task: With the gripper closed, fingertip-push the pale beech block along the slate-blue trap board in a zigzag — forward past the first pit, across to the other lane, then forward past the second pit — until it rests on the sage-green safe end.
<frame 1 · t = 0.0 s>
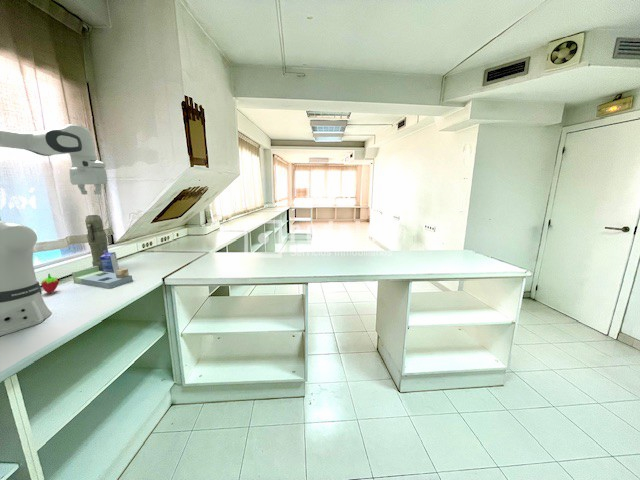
hand: (91, 194, 118), 48 cm above the table, fingers open, 8 cm apart
trap board: (103, 281, 140), on the table
strawberry: (52, 292, 126), on the table
beech block: (122, 276, 139), point 3 cm above the table, touching trap board
ink cartridge box: (111, 273, 154), on the table
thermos: (103, 271, 159), on the table
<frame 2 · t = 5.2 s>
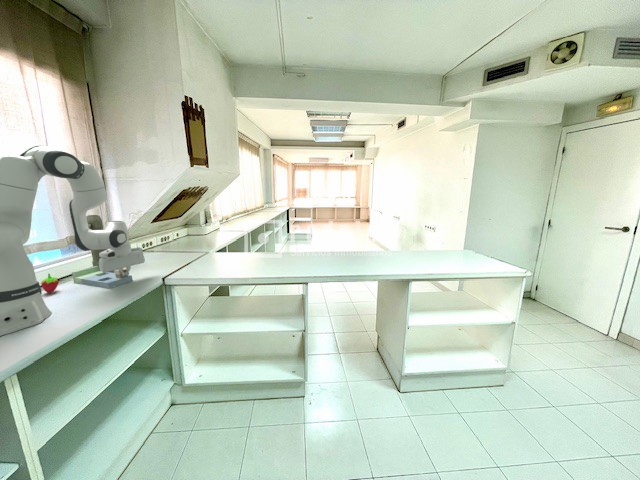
hand: (125, 275, 138), 4 cm above the table, fingers closed, pressing on beech block
beech block: (122, 276, 139), point 3 cm above the table, touching gripper, trap board
everything else where it was.
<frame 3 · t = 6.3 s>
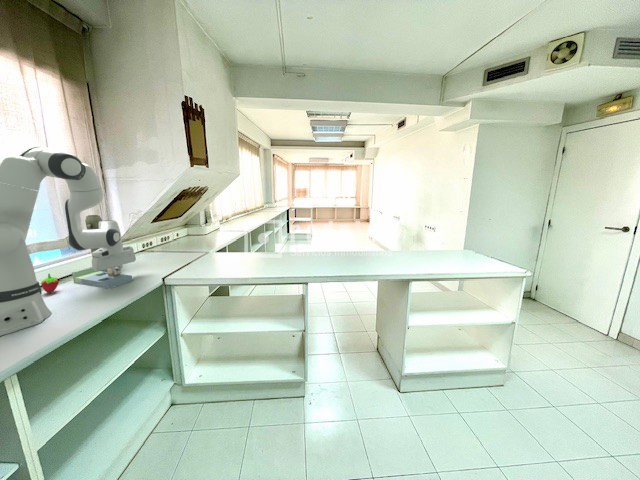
hand: (117, 273, 140), 4 cm above the table, fingers closed
beech block: (114, 275, 141), point 3 cm above the table
everything else where it was.
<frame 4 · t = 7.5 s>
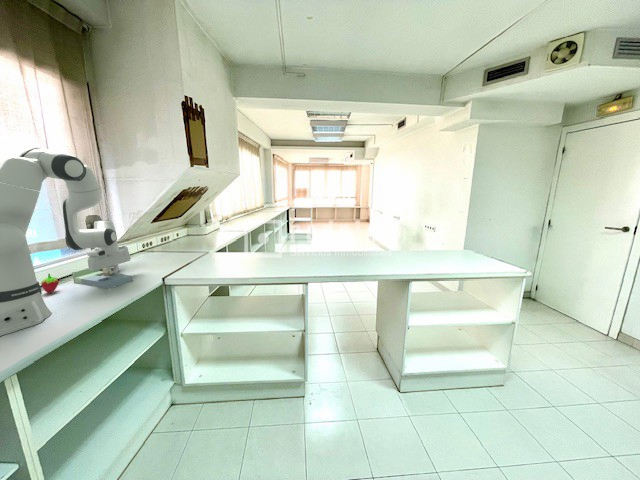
hand: (113, 273, 141), 4 cm above the table, fingers closed, pressing on beech block
beech block: (110, 274, 142), point 3 cm above the table, touching gripper, trap board
everything else where it was.
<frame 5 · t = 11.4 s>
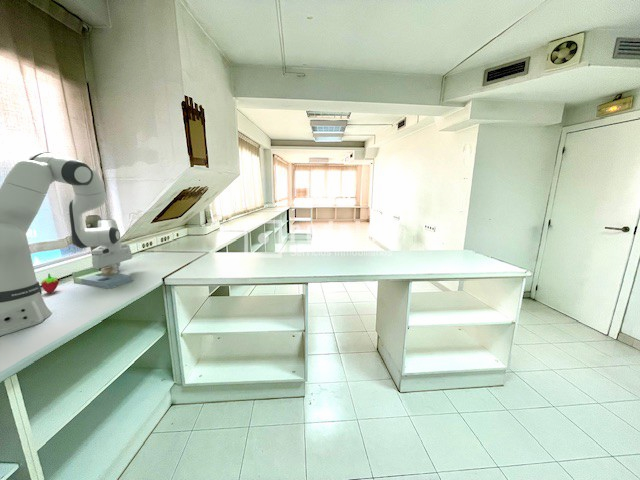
hand: (116, 270, 146), 4 cm above the table, fingers closed
beech block: (108, 274, 142), point 3 cm above the table, touching gripper, trap board
everything else where it was.
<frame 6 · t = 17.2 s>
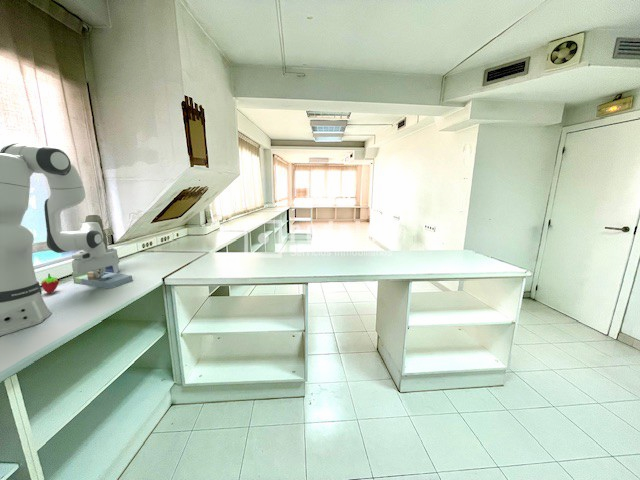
hand: (100, 276, 136), 4 cm above the table, fingers closed
beech block: (95, 278, 136), point 3 cm above the table, touching trap board
everything else where it was.
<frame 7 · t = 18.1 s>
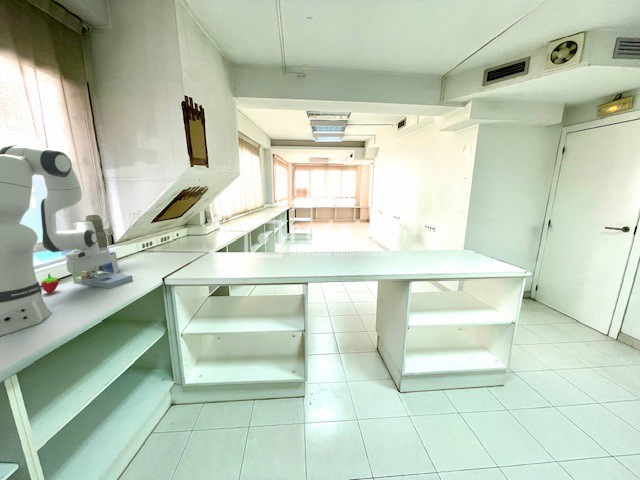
hand: (93, 275, 138), 4 cm above the table, fingers closed
beech block: (88, 277, 138), point 3 cm above the table, touching gripper
everything else where it was.
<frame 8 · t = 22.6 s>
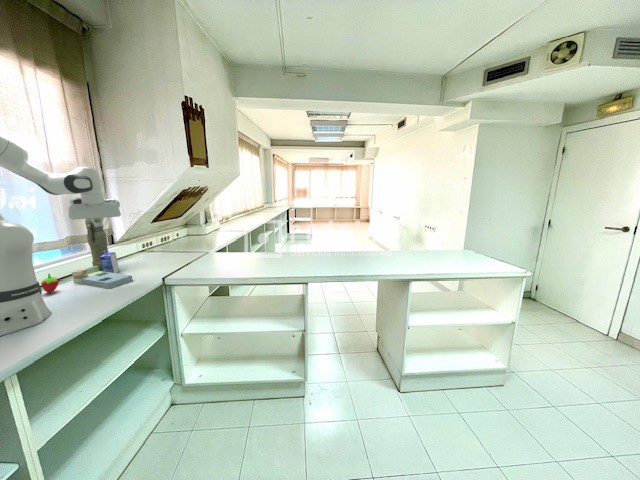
hand: (98, 226, 133), 31 cm above the table, fingers closed
beech block: (81, 277, 138), point 3 cm above the table, touching trap board
everything else where it was.
at the end: beech block inside the target area on the trap board (4.6 cm from its centre), point 3.0 cm above the trap board's base; beech block tilted 0° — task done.
